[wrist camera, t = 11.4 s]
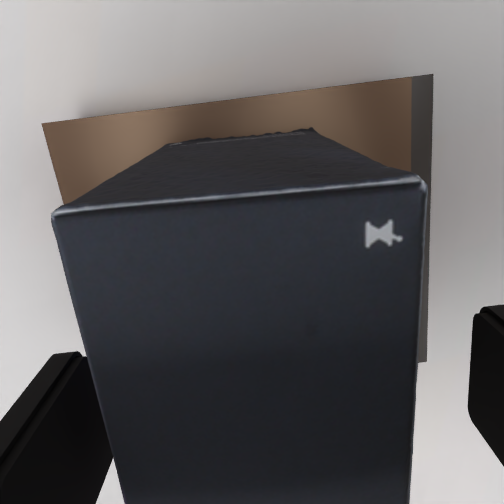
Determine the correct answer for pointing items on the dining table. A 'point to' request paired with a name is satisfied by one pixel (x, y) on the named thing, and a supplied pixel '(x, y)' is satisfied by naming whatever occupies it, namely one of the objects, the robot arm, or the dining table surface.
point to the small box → (252, 320)
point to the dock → (258, 123)
